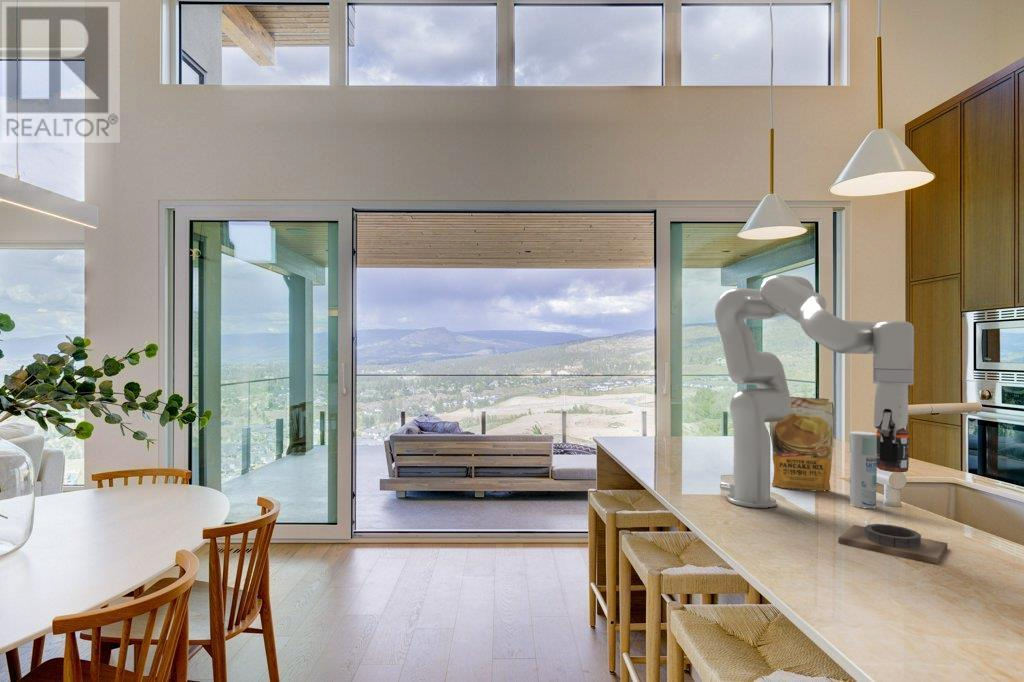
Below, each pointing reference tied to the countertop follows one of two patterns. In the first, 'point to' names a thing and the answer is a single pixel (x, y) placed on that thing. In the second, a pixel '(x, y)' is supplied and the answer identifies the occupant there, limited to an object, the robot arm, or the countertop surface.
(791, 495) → the countertop surface
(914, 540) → the bottle holder
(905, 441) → the supplement bottle
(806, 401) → the pancake mix bag
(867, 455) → the spray can
